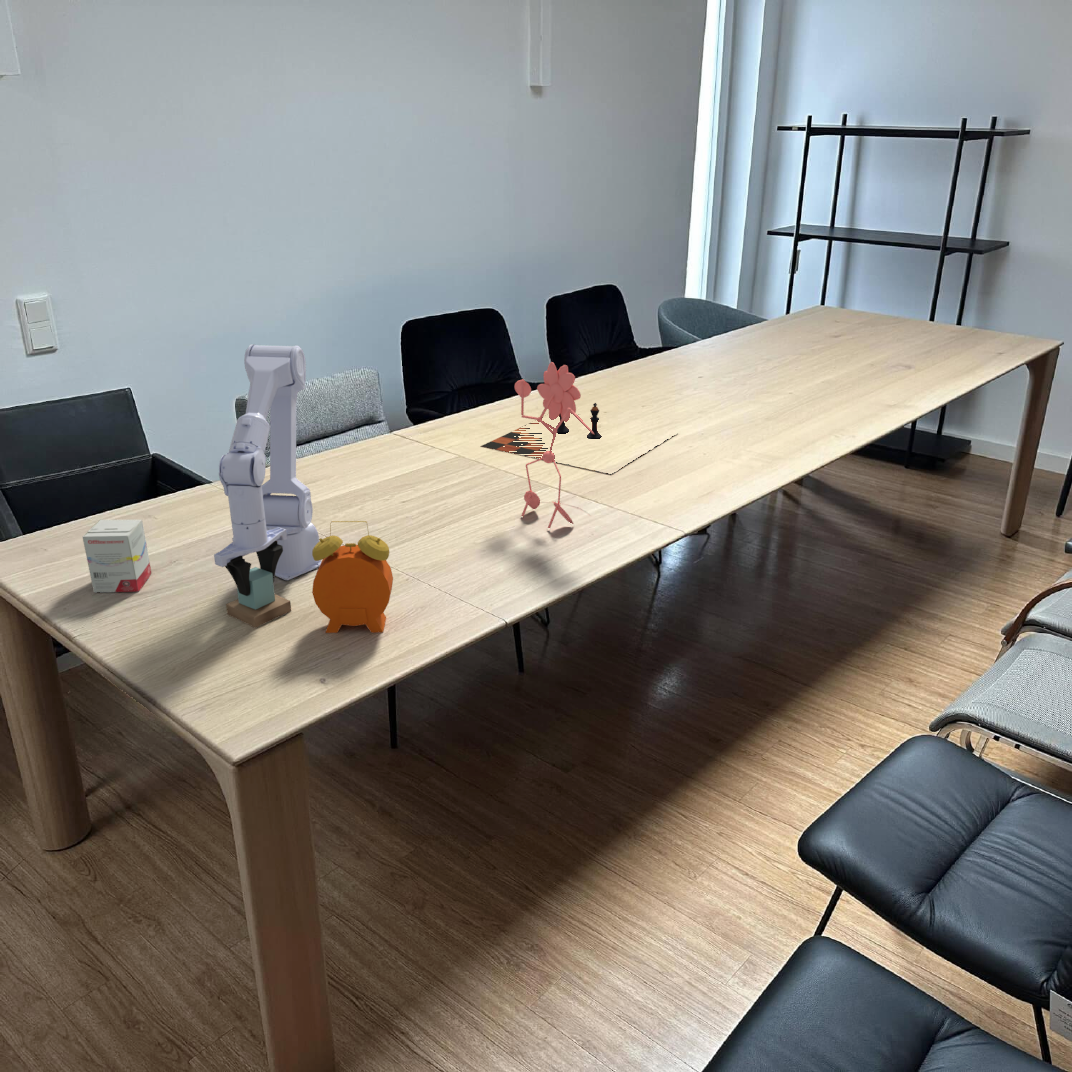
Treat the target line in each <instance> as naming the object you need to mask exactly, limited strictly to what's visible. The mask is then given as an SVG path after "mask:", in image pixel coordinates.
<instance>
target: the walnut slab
mask: <svg viewBox="0 0 1072 1072" xmlns="http://www.w3.org/2000/svg"><path fill="white" fill-rule="evenodd" d="M274 594H275V601H273V602H271V603H269V604H267V605H265V606H262V607H260V608H258V609H256V610H255V609H253V608H250V607H248V606H245V605H242V604H240V603H239V600H238V598H237V599H234V600H233V601H230V602H228V603H226V604H225V606H226V607H225V608H226V614H227V615H228V616H230V617H232V618H234V619H236V620H238V621H241V622H242V623H244V624H246V625H249V626H251V627H253V628H258V627H260V626H263V625H266V623H269V622H271V621H273V620H276V619H277V618H279V617H281V616H284V615H286V614H289V613H290V612H292V603H291V600H289V599H287V598H285V597H282V596H280V595H278V594H277V593H274Z"/></svg>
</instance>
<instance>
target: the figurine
mask: <svg viewBox="0 0 1072 1072" xmlns="http://www.w3.org/2000/svg"><path fill="white" fill-rule="evenodd" d="M557 369H558V368H557V366H556V365H555V363H554V362H552V361H551V362H550V363H549V364H548V367H547V370H545V371H544V372H543V382H544V383H540V384H538V385H537V387H536V389H537V392H538V394H539V396H540V397H541V398H542V399H543V401H542V406H543V410H542V412H541V414H540V415H539V417H538V416H537V417H535V416H529V415H525V414H524V413H525V412H524V408H525V407H524V405H525V401H524V400H525V398H527V397H529V396H530V395H531V393H532V388H531V386H530V384H529V383H528V382H527V381H525V379H524V378H523V379H520V380H517V381H516V382H515V383H514V390H515V392H516V393H517V394H518V396H519V397H520V399H521V407H520V411H521V412H520V415H521V418H523V419H529V420H534V421H536V420H537V421H538V422H541V423H542V424H543V425H544V426H545V427H546V428H547V429H548V430H549V431H550V432H551V433H552V434H553V439H552V443H551V447H550V451H546V452H544V454H543V456H542V458H541V459H535V460H533V461H531V462H528V463H526V464H525V468H526V469H525V470H526V474H527V475H526V476H527V480H528V481H527V482H528V487H529V490H527V491H525V493H524V495H523V500H524V502H525V505H524V508H523V510H522V513H521V515H520V517H521V516H524V517H525V514H526V512H527V509H528V506H529V507H530V508H531V509H532V510H533V509H535V510H536V509H537V508H538V507H540V505H541V502H540V501H541V499H540V497H539V496H538V494H537V493H536V492H534V491H533V490H532V486H531V485H532V484H531V481H530V480H531V479H530V472H529V467H528V466H529V465H532V464H534V463H537V462H540V461H543V462H544V463H546V464H551V463H553V462H554V463H553V464H554V467H555V469H556V472H557V474H558V476H559V478H558V479H559V482H558V498H557V502H558V503H556V501H553V506H554V507H555V508H554V511H553V513H552V516H551V518H550V521H549V524H548V526H547V528H550V529H551V527H552V525H553V522H554V520H555V516H556V514H557V512H558V513H559V514H560V515H561V516H562V517H563V518H564V520H566V521H567V522H568V523H569V522H570V523H572V524H574V521H573V520H572V518H571V516H570V515H569V514H568V513H567V511H566V510H564V508H563V507H562V506H561V503H560V502H561V487H562V475H561V473H560V471H559V467H558V464H557V463H555V460H554V459H555V455H554V453H552V451H551V450H552V446H553V443H554V440H555V437H556V433H557V429H558V428H559V426H560V425H561V423H562V422H563V420H564V421H565V422H567V421H568V420H569V418H570V413H571V414H573V415H574V416H575V417H576V418H577V419H578V420H579V421H580V422H581V423H582V424H583V425H584V426H585V427H586V428H587V429H588V430H589V431H590V432H591V433H592V434H594V432H593V431H592V430H591V429H590V428H589V427H588V426H587V425H586V424H585V423H584V422H583V420H582V419H581V418H580V417H579V416H578V415H579V414H578V415H577V413H576V412H577V405H576V402H575V401H578V400H580V399H581V395H582V394H581V392H580V390H579V388H578V387H577V386H575V385H574V384H575V382H576V376H575V375H574V374H573V373H572V372H569V366H568V365H566V364H563V365H562V366H560V367H559V369H558V370H557ZM547 411H548V414H549V418H550V419H551V420H554V419H556V418H557V417H558V416H559V414H561V417H562V419H561V420H560V422H559V423H558V425H557V426H556V428H554V427H552V426H551V425H549V424H547V423H545V422H544V421H542V418H543V417H544V416H545V414H546V412H547ZM549 427H550V428H551V429H553V431H552V430H551V429H550V428H549ZM570 523H569V524H570Z"/></svg>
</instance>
